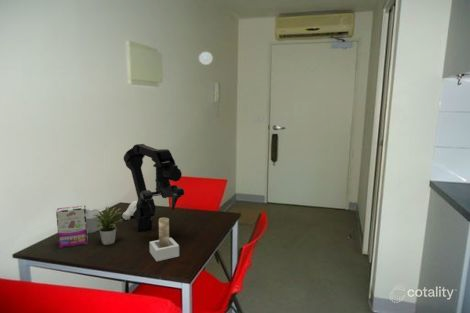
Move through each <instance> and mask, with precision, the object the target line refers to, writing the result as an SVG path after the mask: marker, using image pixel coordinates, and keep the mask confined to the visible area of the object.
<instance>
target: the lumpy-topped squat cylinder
mask: <svg viewBox="0 0 470 313" xmlns="http://www.w3.org/2000/svg"><path fill="white" fill-rule="evenodd" d="M98 211H99V209H98V208H94V209H92V210H91V209H89V208H87V209H86V221H87V234H89V233H95V232H97V231H99V229H100V228H102V224H101V223H100V222H98V221H95V219H99V218H98V217H97V216H95V215H98V216H100V217H101V215H100V213H99V212H98ZM100 212H101V213H103V212H102V211H100ZM96 213H97V214H96ZM93 215H94V216H93ZM103 215H104V216H105V214H104V213H103ZM101 218H102V217H101ZM99 220H100V219H99ZM97 224H101V225H100V227H97V226H96V225H97Z"/></svg>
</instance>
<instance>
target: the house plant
mask: <svg viewBox="0 0 470 313" xmlns="http://www.w3.org/2000/svg"><path fill="white" fill-rule="evenodd" d="M115 208H116V207H113V208H112V209H111V210H110V207H109V206H105V214H104V212H102V211H100V210H98V212H99V213H100V215H101V217H102V218H101V217H100V216H98V215H95V216H97V217H98V218H99V219H100V220H99V219H95V221H98V222H100V223H101V224H102V228H100V229H99V230H98V231H99V235H100V239H101V244H102V245H106V246H107V245H113V244H114V243H115V241H116V232H117V226H116V224H117V223H123V221H124V218H122V219H121V218H120V217H123V216H124V215H123V211H121V212H118V211H120V210H121V209H122V208H118V209H117V210H115ZM114 210H115V211H114ZM113 211H114V212H113ZM101 212H102V213H101ZM96 214H97V213H96ZM103 214H104V215H103ZM93 216H94V215H93ZM101 224H97V225H96V226H97V227H100V225H101Z"/></svg>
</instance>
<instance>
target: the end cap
mask: <svg viewBox="0 0 470 313" xmlns="http://www.w3.org/2000/svg"><path fill="white" fill-rule="evenodd" d="M149 253H150V255H151V256H152V257H153V259H154V260H155V262H160V261H165V260H168V259H173V258H177V257H180V245H179V244H178V243H177V242H176V241H175V240H174V239H173V238H172V237H169V246H168V247H163V248H159V239H157V240H152V241H149Z"/></svg>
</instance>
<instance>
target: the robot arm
mask: <svg viewBox="0 0 470 313" xmlns="http://www.w3.org/2000/svg"><path fill="white" fill-rule="evenodd" d="M145 156H146V157H148V158H151V161H152V162H154V164H153V167H154V168H155V191H152V190H150V189H147V187H146V182H145V179H144V174H143V169H142V167H143V164H144V158H145ZM123 161H124V164H125V166H126V168H127V169H129V170H130V172H131V176H132V180H133V183H134V184H133V185H134V187H135V192H136V196H137V200H136V201H137V204H136V208H137V209H136V211H135V212H134V214H133V218H134V219H135V220H137V232H138V233H139V232H150V231H151V232H152V229H153V219H152V217H154V216H155V215H156V209H157V207H156V204H155V200H154V199H153V198H154V197H158V196H159V197H160V196H161V198H162V199H167V198H171V210H172V211H174V210H175V207H176V203H177V202H178V200H179V198H182V196H184V195H185V189H184V188H182V187H181V186H177V185H176V184H174V185H171V181H172V182H178V181H180V179H181V178H182V176H183V174H182V171H181V169H180V168H179V167H178V166H179V165H176V160H175V159H174V158H173V155H172V152H171V151H170V150H169V148H168V149H166V148H165V149H164V148H161V149H157V148H155V147H151V146H149V145H146V144H145V143H139V144H137V143H136V144H134V145H133V146H132V148H129V149H128V150H127V151H126V152H125V154H124V155H123Z"/></svg>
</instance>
